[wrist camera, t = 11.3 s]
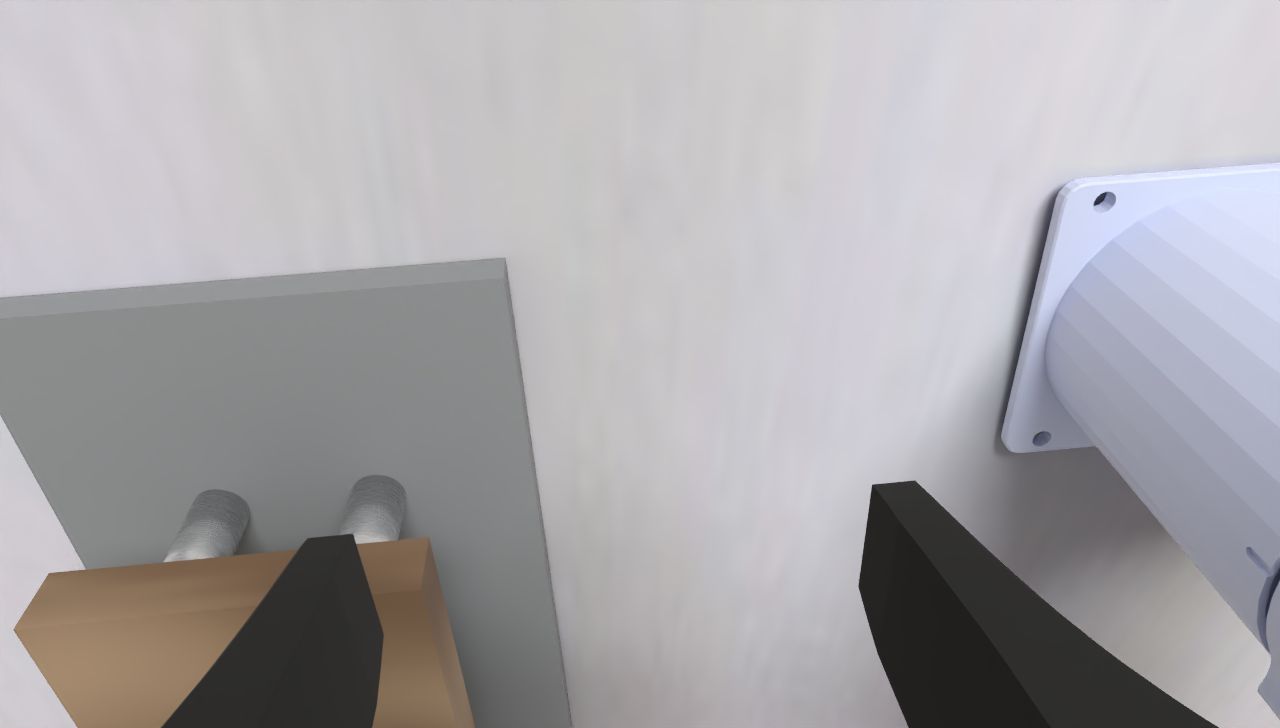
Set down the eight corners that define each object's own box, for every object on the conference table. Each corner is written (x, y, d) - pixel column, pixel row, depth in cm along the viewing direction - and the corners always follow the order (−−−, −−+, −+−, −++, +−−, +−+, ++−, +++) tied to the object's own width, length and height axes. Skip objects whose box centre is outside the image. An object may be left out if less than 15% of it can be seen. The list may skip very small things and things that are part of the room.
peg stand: (505, 257, 21) (495, 363, 17) (581, 790, 33) (585, 920, 29) (-27, 299, 20) (-160, 419, 16) (252, 826, 32) (213, 964, 28)
